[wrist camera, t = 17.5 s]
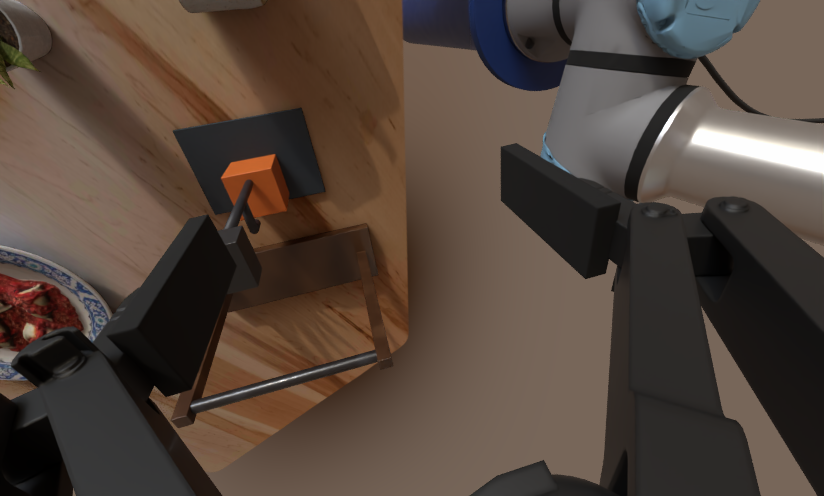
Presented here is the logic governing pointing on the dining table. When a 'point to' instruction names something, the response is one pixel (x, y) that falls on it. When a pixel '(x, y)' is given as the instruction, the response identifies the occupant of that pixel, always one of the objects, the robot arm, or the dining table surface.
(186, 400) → the rack
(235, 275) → the orange block with hook
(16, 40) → the house plant
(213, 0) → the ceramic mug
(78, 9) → the dining table surface
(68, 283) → the ceramic plate
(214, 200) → the mat
